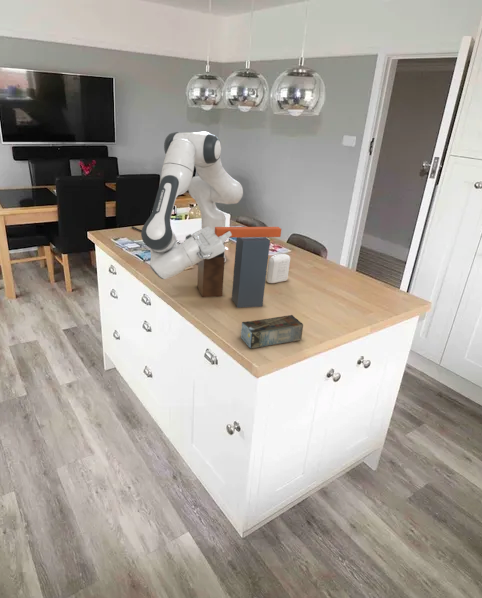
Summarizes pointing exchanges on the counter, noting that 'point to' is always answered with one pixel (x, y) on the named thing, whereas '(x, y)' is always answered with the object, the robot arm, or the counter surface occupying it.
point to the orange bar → (249, 231)
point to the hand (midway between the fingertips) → (228, 230)
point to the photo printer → (278, 268)
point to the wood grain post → (211, 276)
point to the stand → (250, 271)
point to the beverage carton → (271, 331)
